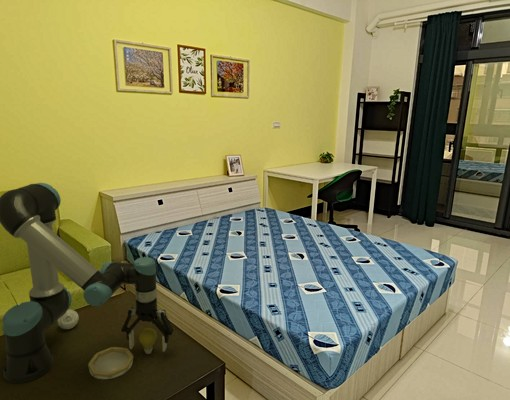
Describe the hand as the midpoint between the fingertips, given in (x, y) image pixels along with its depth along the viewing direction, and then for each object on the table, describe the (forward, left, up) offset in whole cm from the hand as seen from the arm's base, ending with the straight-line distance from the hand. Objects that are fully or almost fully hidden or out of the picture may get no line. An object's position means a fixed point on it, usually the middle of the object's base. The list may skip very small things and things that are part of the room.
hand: (148, 348), depth 138 cm
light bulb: (0, 0, -2) cm, 2 cm away
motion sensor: (-39, +12, -2) cm, 41 cm away
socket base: (-11, -8, -2) cm, 14 cm away
